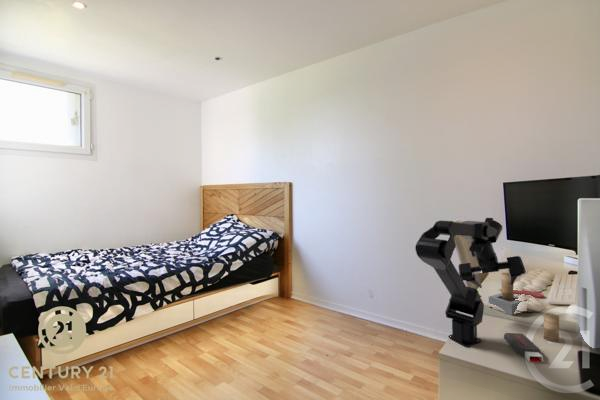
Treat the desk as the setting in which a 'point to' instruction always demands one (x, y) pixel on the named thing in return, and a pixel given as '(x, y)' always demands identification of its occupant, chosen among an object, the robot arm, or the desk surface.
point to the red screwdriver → (528, 293)
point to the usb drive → (524, 346)
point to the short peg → (551, 327)
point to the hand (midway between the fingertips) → (496, 285)
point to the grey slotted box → (505, 303)
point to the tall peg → (507, 288)
